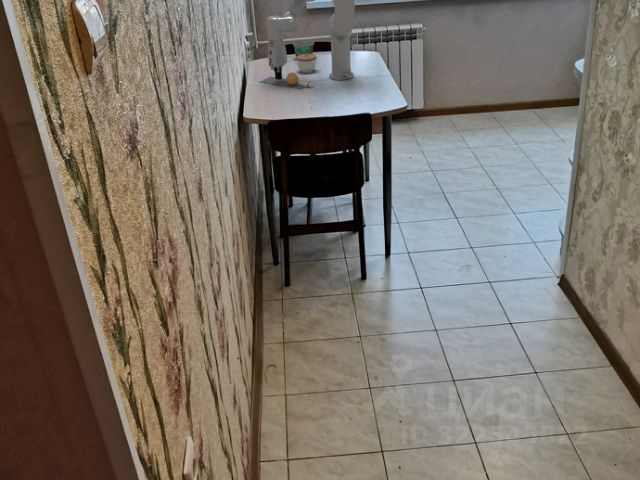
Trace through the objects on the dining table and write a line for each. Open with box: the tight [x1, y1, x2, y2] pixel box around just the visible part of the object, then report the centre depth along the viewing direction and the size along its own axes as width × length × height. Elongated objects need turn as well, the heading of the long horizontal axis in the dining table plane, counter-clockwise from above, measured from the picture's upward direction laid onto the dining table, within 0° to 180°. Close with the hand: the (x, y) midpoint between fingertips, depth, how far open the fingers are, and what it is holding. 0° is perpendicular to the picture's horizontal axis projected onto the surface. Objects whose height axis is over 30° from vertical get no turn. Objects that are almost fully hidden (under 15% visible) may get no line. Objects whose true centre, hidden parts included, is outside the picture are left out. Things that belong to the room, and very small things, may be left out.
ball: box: [285, 72, 299, 85], centre depth 329 cm, size 6×6×6 cm
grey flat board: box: [259, 76, 306, 90], centre depth 334 cm, size 26×10×1 cm, turn 56°
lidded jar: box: [295, 53, 318, 74], centre depth 349 cm, size 11×11×9 cm
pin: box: [297, 80, 314, 88], centre depth 328 cm, size 2×2×8 cm
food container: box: [292, 40, 315, 58], centre depth 368 cm, size 12×6×10 cm, turn 73°
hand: (278, 78), depth 336 cm, fingers closed
